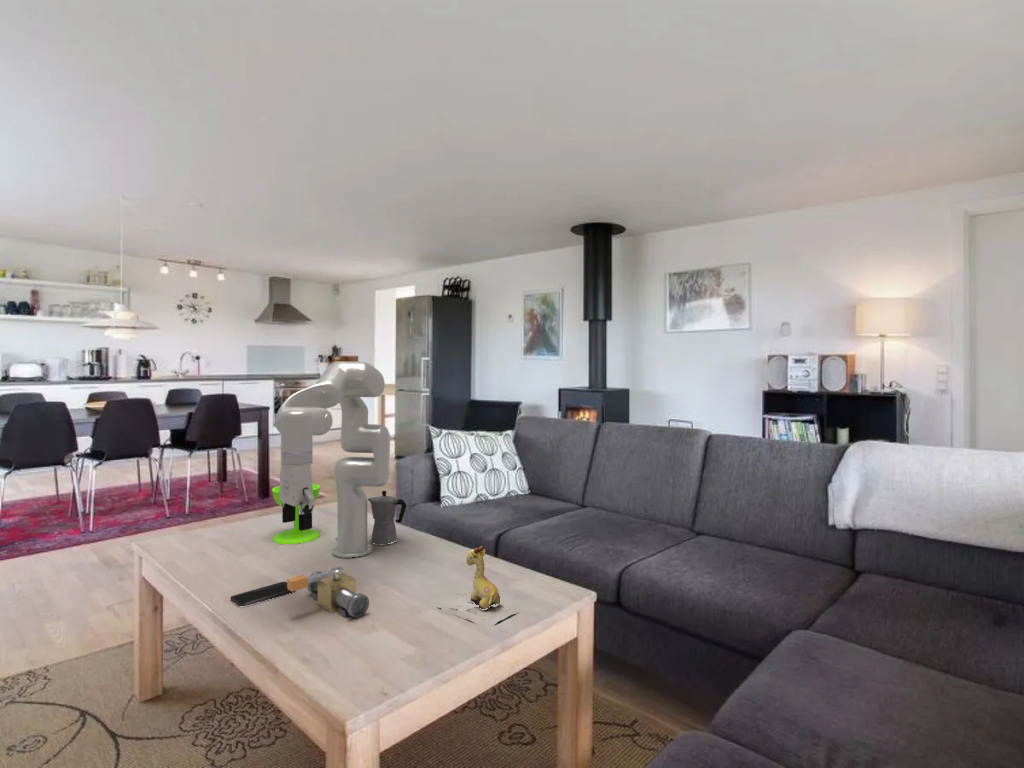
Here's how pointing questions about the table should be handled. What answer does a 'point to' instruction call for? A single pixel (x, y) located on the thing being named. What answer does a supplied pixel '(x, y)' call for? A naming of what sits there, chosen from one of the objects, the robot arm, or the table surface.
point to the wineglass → (295, 524)
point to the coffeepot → (385, 518)
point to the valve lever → (311, 579)
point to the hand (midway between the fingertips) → (297, 525)
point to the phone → (261, 594)
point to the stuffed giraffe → (482, 581)
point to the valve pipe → (339, 595)
